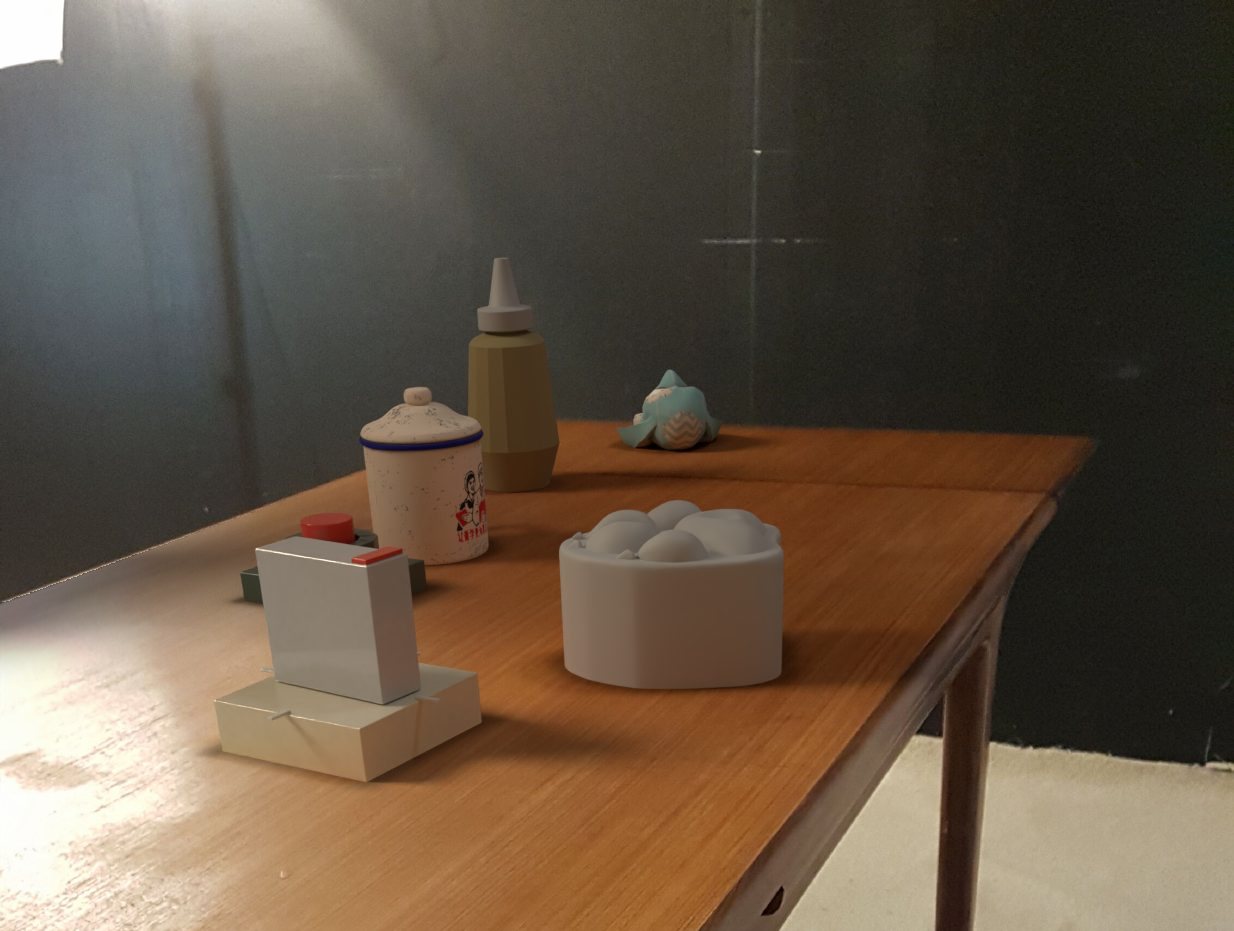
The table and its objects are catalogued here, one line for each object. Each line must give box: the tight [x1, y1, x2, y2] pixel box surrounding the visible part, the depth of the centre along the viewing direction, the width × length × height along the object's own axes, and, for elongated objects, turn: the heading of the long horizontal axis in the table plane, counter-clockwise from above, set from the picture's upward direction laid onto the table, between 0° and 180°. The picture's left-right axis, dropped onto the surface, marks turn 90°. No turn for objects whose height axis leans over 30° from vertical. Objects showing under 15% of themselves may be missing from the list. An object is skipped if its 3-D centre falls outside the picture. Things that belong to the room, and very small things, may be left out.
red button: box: [299, 512, 356, 544], centre depth 108 cm, size 4×4×2 cm
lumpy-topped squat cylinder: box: [558, 499, 785, 690], centre depth 93 cm, size 10×13×9 cm
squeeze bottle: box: [467, 257, 560, 493], centre depth 134 cm, size 8×8×18 cm
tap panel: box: [213, 651, 483, 783], centre depth 85 cm, size 12×12×3 cm
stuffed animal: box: [615, 369, 724, 451], centre depth 152 cm, size 11×7×12 cm
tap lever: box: [254, 536, 421, 705], centre depth 82 cm, size 8×3×7 cm, turn 54°
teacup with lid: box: [358, 386, 490, 567], centre depth 118 cm, size 12×9×12 cm
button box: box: [239, 528, 428, 605], centre depth 109 cm, size 10×8×4 cm
